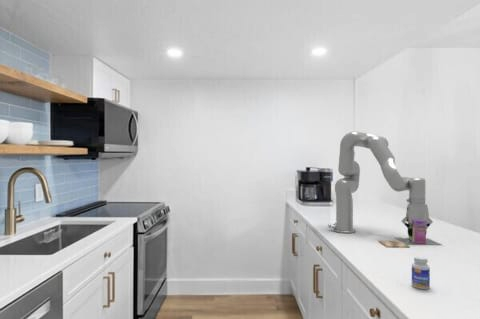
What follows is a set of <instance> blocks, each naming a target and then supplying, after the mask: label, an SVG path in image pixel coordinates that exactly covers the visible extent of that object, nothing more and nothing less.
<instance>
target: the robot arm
mask: <svg viewBox="0 0 480 319" xmlns="http://www.w3.org/2000/svg"><path fill="white" fill-rule="evenodd" d="M355 147H360V148H361V147H362V148H366V149H369V150H370V152H371V153H372V155H373V156H374V158H375V160H376V161H377V163H378V164H379V166H380V169H381V172H382V175H383V177H384V179H385V181H386V182H387V184H388V185H389V187H390V189H391V190H393V191H394V192H397V193H398V192H404V191H405V192H406V191H408V192H409V193H408V198H407V199H406V203H407V207H406V210H405V211H406V213H405V217H404V218H403V219H402V220H401V223H403V225H404V226H405V227H406V228H407V235H408V236H412V229H411V228H412V224H413V220H425V221H426V230H427V229H429V227H430V226H431V224H433V222H434V221H433V220H432V218H430V213H429V207H428V204H426V179H425V178H422V177H407V176H401V174H400V173H399V171H398V169H397V167H396V164H395V163H396V158H395V156H394V154H393V153H392V151H391V150H390V148H389V141H388V139H387V138H386V137H383V136H380V135H379V136H378V135H374V134H370V133H367V132H361V131H350V132H348V133H346V134H345V135H344V136H343V137H341V140H340V144H339V156H338V169H337V170H338V173H339V175H340V176H343V178H339V179H338V180H337V181H336V182H335V184H334V192H335V202H336V203H335V204H336V205H335V206H336V207H335V213H336V214H335V215H336V216H335V217H336V218H335V222H334V223H333V224H331V223H328V225H327V227H328V228H331V229H333V232H336V233H340V234H341V233H342V234H353V233H355V232H356V229H355V228H354V220H353V219H354V212H353V211H354V207H353V206H354V202H353V200H354V199H353V195H352V194H354V193H355V192H357V191H358V189H359V185H360V175H361V174H360V173H361V166H360V164H359V163H358V162H357V161H356V160H355Z"/></svg>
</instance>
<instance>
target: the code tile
mask: <svg viewBox="0 0 480 319" xmlns="http://www.w3.org/2000/svg"><path fill="white" fill-rule="evenodd" d="M393 239H395V241H401V242H403V243H404V244H406V245H408V246H443V244H442V243H439V242H437V241H435V240H433V239H430V238H429V237H426V244H420V243H414V242H412V241H411V240H410V239H409V238H408V237H394V238H393Z"/></svg>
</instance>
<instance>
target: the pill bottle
mask: <svg viewBox="0 0 480 319" xmlns="http://www.w3.org/2000/svg"><path fill="white" fill-rule="evenodd" d="M413 261H414V262H412V263H411V286H412V287H414V288H416V289H420V290H427V289H430V285H431V284H430V282H431V280H430V279H431V277H430V276H431V275H430V274H431V271H430V270H431V269H430V268H431V267H430V265H429V264H428V257H425V256H421V255H420V256H419V255H415V256H414V257H413Z"/></svg>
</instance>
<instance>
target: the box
mask: <svg viewBox="0 0 480 319" xmlns="http://www.w3.org/2000/svg"><path fill="white" fill-rule="evenodd" d="M411 229H412V236H409V235H408V237H407V238H409V239H410V240H411V241H412V242H414V243H420V244H426V238H427V229H426V221H425V220H413V224H412V228H411Z"/></svg>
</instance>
